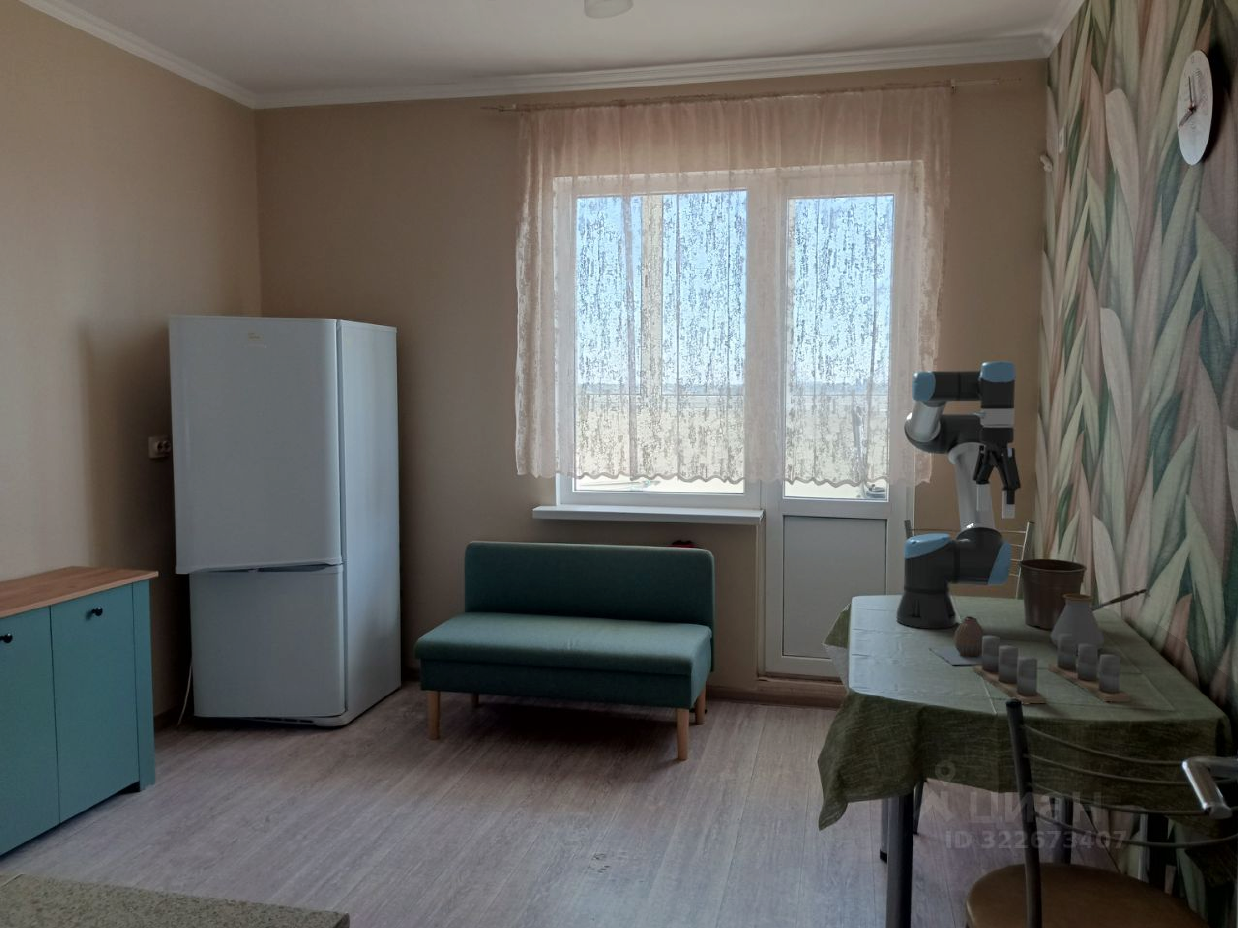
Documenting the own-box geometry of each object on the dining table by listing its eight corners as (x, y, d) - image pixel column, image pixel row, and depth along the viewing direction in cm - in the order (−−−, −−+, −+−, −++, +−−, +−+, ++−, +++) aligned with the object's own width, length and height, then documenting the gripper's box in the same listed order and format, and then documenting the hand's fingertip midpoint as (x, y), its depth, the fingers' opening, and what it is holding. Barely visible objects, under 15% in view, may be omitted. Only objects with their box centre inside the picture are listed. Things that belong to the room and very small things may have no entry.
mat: (928, 648, 223) (928, 646, 223) (985, 647, 223) (985, 645, 223) (952, 665, 209) (952, 664, 209) (1013, 664, 209) (1013, 662, 209)
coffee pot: (1058, 655, 216) (1060, 592, 214) (1043, 642, 227) (1045, 582, 226) (1157, 658, 212) (1159, 594, 211) (1137, 645, 224) (1139, 583, 222)
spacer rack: (973, 670, 205) (973, 634, 204) (1070, 668, 206) (1071, 631, 205) (1021, 704, 183) (1022, 663, 182) (1129, 701, 184) (1131, 660, 183)
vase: (990, 654, 216) (991, 617, 215) (978, 660, 211) (978, 622, 210) (961, 648, 221) (962, 612, 220) (948, 654, 216) (949, 617, 215)
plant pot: (1097, 632, 235) (1098, 569, 234) (1032, 633, 236) (1034, 570, 234) (1067, 617, 251) (1069, 558, 250) (1007, 617, 252) (1008, 558, 250)
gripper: (959, 424, 234) (958, 508, 236) (1005, 428, 210) (1003, 521, 211) (988, 424, 235) (987, 507, 237) (1038, 428, 210) (1036, 521, 212)
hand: (995, 514), depth 224 cm, fingers open, 13 cm apart
